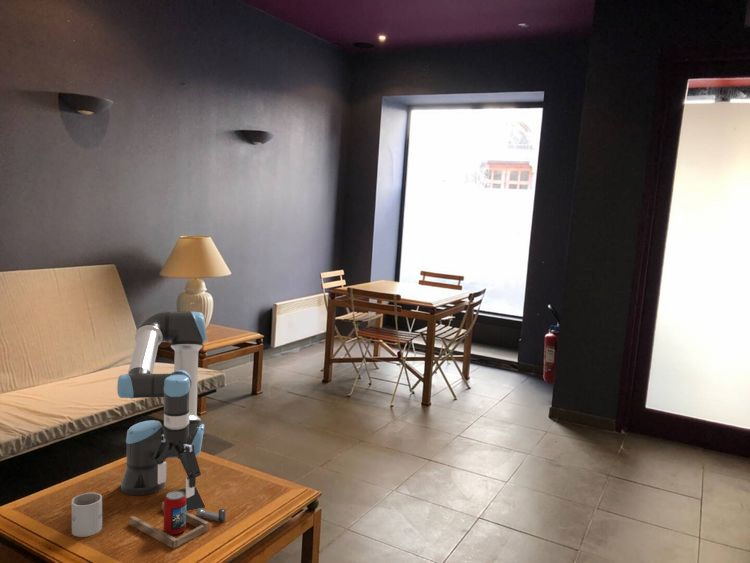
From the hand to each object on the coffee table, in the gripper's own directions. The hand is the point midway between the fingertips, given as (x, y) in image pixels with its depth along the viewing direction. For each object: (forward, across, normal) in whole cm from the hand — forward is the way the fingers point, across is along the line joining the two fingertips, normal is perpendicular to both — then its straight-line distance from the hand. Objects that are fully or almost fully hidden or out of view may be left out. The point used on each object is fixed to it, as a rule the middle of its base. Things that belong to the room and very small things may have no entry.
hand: (175, 489), depth 185 cm
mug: (+14, -22, -16) cm, 31 cm away
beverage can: (+14, 0, -1) cm, 14 cm away
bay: (+14, -2, -1) cm, 14 cm away
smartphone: (+15, -11, +15) cm, 24 cm away
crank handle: (+14, +4, +11) cm, 18 cm away
